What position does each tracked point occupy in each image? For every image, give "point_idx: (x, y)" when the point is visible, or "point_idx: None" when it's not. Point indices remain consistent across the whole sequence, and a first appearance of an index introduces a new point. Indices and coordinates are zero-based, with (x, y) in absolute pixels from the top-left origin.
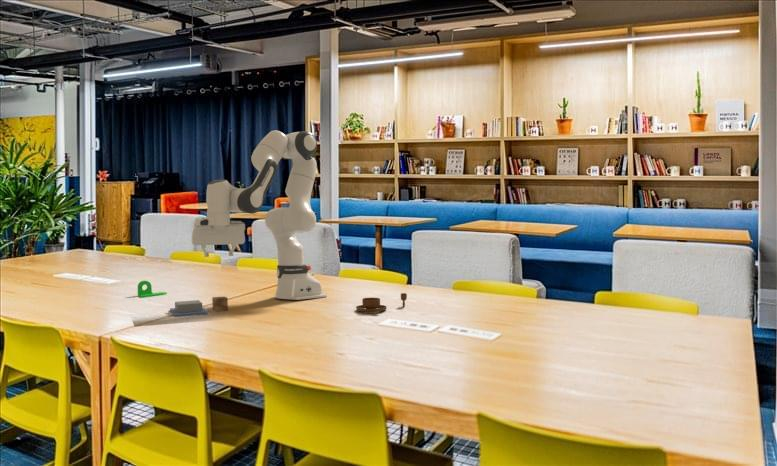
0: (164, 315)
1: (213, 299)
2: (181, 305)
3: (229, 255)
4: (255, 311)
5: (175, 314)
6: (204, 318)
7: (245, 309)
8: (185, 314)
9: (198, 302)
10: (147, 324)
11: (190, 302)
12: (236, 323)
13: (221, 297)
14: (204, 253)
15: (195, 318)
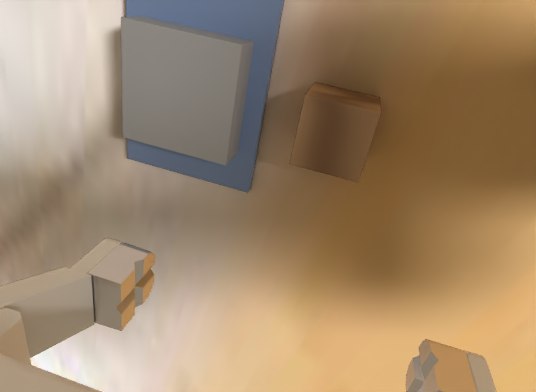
0: (100, 100)
1: (298, 129)
2: (139, 139)
3: (408, 372)
4: (439, 261)
5: (129, 158)
6: (212, 257)
7: (441, 187)
8: (166, 167)
9: (217, 131)
10: (49, 230)
11: (184, 103)
12: (264, 377)
13: (342, 139)
14: (85, 266)
15: (187, 237)
